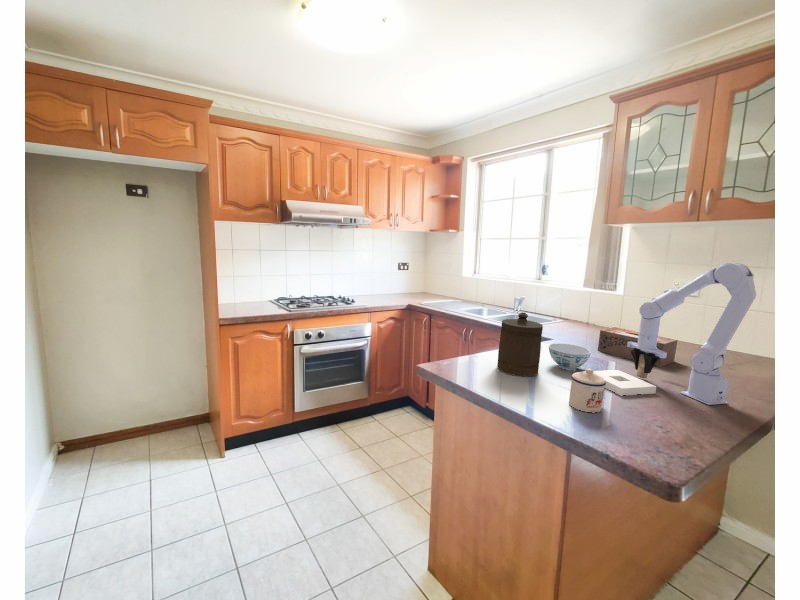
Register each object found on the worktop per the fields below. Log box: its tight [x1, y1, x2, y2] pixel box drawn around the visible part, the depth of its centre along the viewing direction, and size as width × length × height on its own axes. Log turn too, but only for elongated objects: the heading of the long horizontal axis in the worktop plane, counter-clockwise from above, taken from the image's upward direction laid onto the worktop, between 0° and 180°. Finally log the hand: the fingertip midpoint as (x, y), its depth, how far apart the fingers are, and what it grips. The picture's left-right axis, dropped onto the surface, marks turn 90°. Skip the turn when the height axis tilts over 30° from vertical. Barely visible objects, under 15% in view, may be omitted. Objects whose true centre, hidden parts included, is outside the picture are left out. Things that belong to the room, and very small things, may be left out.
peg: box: [636, 354, 649, 379], centre depth 136 cm, size 3×3×8 cm
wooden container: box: [497, 312, 544, 377], centre depth 139 cm, size 15×15×22 cm
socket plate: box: [593, 369, 657, 397], centre depth 129 cm, size 16×14×2 cm
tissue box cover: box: [597, 326, 679, 368], centre depth 167 cm, size 26×14×10 cm, turn 36°
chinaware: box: [548, 342, 592, 371], centre depth 146 cm, size 15×15×8 cm
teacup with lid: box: [568, 367, 606, 414], centre depth 110 cm, size 12×9×12 cm
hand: (642, 371), depth 136 cm, fingers closed on peg, 3 cm apart
